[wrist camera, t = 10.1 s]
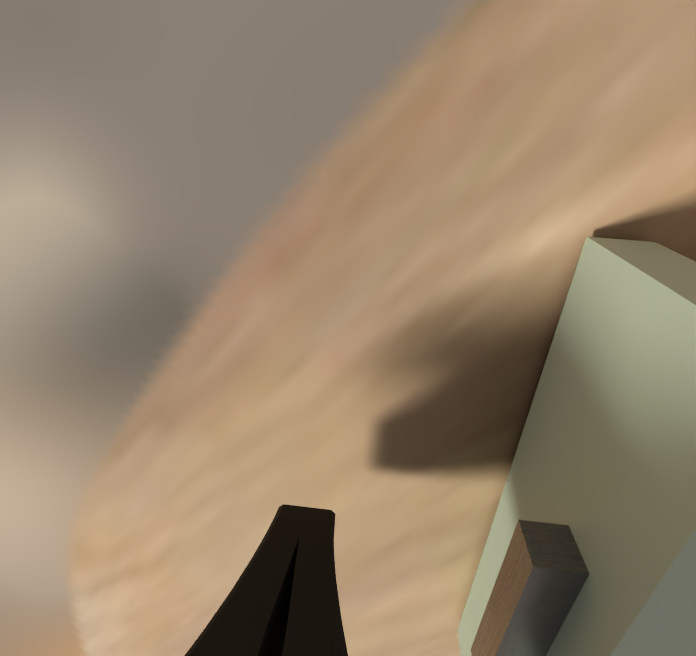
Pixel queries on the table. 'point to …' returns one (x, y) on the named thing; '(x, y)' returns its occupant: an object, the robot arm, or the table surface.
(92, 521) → the table surface
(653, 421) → the tray
